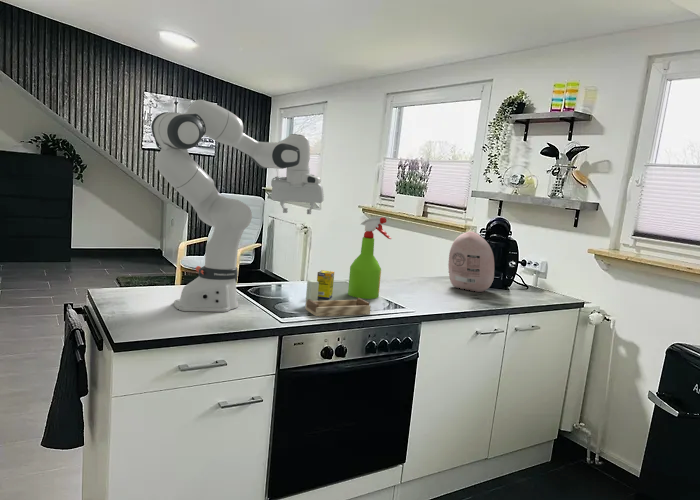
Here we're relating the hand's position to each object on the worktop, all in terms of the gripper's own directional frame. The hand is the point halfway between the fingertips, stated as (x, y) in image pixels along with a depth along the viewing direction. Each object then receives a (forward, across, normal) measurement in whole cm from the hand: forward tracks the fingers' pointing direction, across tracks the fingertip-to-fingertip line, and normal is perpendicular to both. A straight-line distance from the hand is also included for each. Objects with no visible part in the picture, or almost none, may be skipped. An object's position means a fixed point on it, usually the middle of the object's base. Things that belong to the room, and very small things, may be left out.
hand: (297, 213), depth 202 cm
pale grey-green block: (+34, +8, -9) cm, 36 cm away
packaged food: (+42, +76, +62) cm, 107 cm away
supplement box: (+36, +10, +10) cm, 39 cm away
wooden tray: (+35, +19, -12) cm, 41 cm away
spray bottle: (+37, +28, +21) cm, 51 cm away
